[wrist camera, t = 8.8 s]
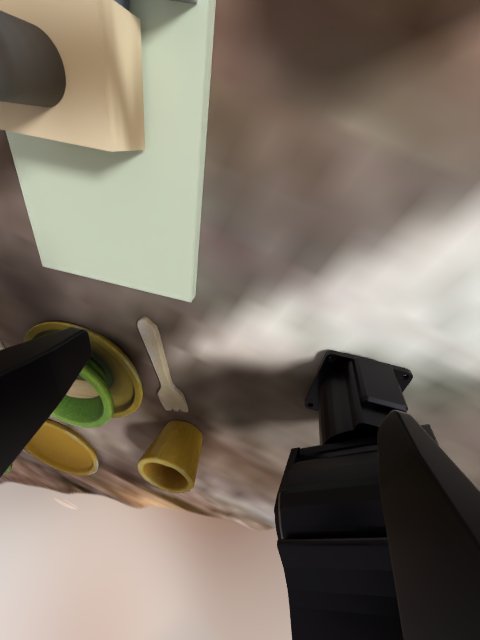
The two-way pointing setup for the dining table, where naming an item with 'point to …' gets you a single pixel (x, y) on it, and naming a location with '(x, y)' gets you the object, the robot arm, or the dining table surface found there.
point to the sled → (72, 72)
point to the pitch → (133, 169)
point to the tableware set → (117, 413)
